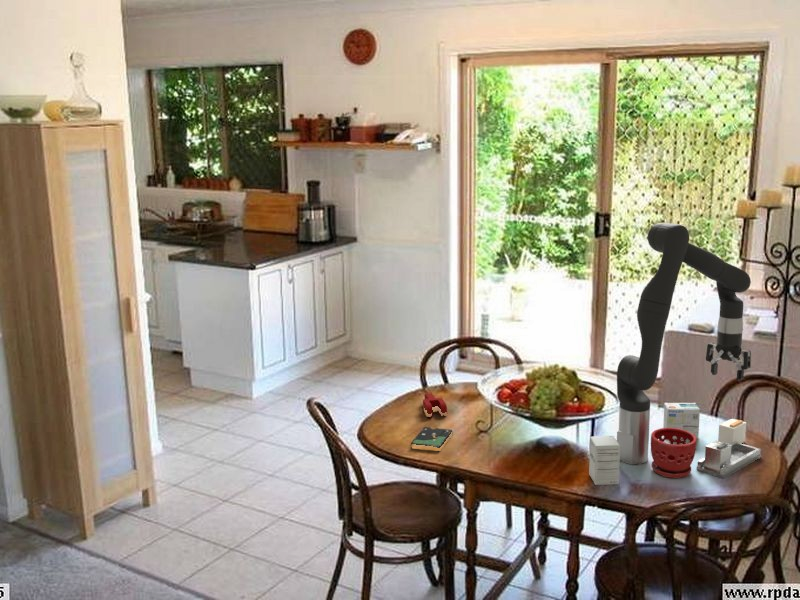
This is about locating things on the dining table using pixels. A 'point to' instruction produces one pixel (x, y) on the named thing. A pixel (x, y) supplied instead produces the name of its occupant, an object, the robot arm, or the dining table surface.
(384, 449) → the dining table surface
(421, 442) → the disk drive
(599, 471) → the supplement box
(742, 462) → the din rail
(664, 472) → the plant pot
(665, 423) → the light bulb box
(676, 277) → the robot arm
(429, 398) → the toy lobster
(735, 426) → the block
